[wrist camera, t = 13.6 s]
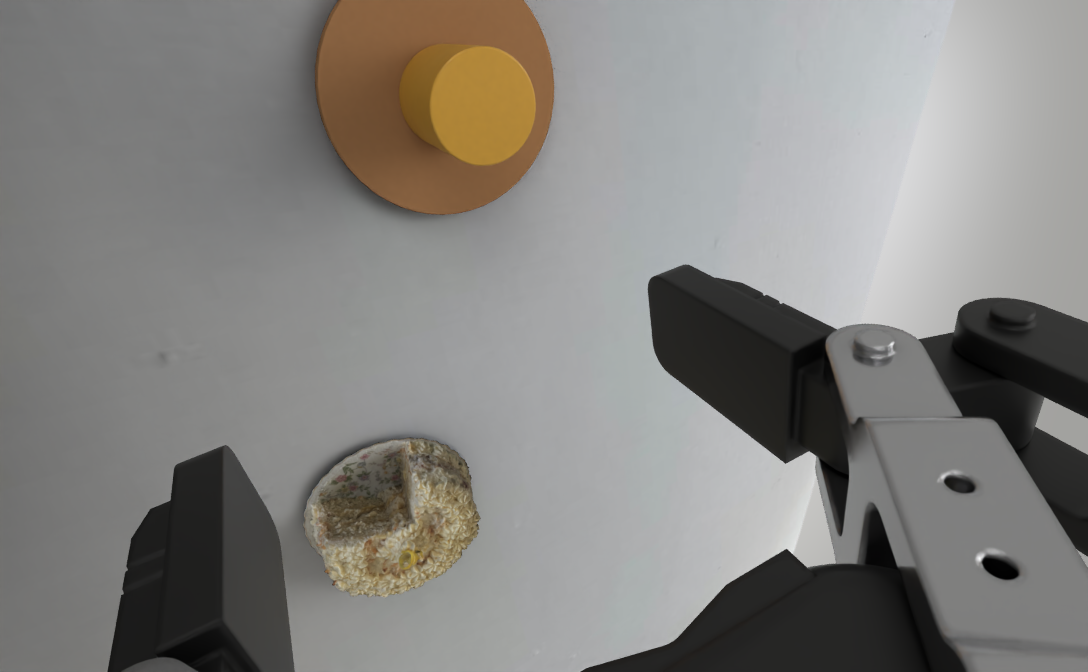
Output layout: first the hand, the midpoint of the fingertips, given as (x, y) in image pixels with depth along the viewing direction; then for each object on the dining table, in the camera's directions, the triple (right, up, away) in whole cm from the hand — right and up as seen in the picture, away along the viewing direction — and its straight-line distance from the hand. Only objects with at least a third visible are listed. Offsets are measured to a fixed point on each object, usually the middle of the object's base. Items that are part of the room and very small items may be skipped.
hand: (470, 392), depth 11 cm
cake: (-8, -9, +26) cm, 28 cm away
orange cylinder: (-3, +12, +16) cm, 20 cm away
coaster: (-3, +12, +17) cm, 21 cm away
